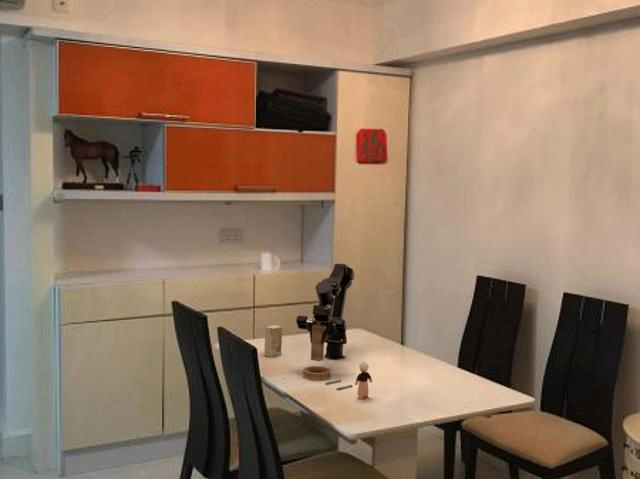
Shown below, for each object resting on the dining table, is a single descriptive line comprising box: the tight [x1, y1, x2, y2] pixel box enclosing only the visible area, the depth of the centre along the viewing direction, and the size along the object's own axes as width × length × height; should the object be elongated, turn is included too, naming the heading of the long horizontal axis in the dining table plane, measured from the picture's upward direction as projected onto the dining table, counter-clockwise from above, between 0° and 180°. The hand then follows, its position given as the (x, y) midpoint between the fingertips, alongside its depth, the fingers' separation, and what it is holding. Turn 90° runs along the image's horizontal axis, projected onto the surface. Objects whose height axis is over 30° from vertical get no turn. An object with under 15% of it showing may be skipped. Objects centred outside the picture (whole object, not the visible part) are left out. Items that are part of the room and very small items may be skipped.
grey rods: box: [325, 379, 353, 391], centre depth 252 cm, size 8×8×1 cm
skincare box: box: [263, 324, 283, 358], centre depth 289 cm, size 6×4×12 cm
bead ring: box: [302, 365, 331, 382], centre depth 262 cm, size 10×10×2 cm
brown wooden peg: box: [310, 321, 326, 362], centre depth 261 cm, size 4×4×15 cm
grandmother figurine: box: [354, 361, 373, 401], centre depth 238 cm, size 8×4×13 cm, turn 141°
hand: (316, 343), depth 260 cm, fingers closed on brown wooden peg, 4 cm apart
